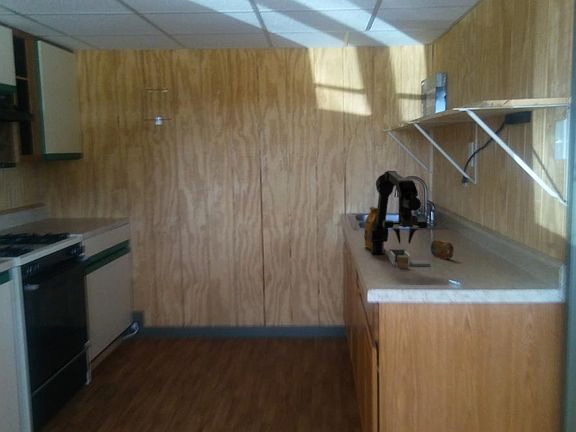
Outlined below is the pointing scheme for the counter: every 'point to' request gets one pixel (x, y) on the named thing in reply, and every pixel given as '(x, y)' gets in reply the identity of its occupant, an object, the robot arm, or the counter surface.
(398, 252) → the grey open rectangular frame
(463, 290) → the counter surface
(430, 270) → the counter surface
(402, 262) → the block
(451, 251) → the tin
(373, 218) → the coffee package
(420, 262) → the tile
